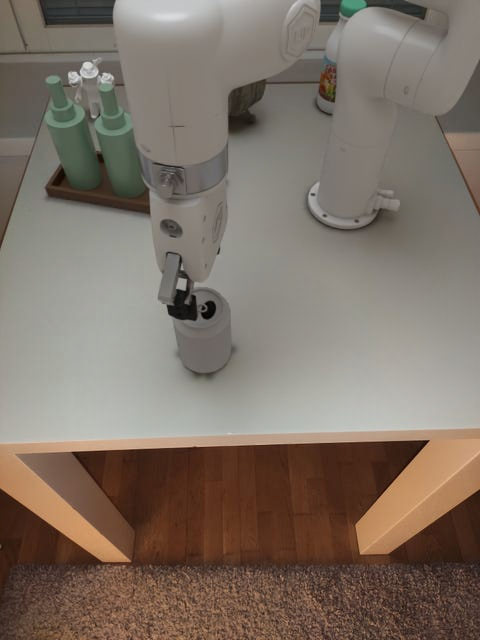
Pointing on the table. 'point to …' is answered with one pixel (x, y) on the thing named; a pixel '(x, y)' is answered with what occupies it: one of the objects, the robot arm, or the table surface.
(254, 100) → the tabletop clock
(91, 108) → the hat wearing toy figure
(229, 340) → the can
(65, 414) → the table surface
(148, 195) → the tray
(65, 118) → the bottle
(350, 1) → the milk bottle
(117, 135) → the bottle
